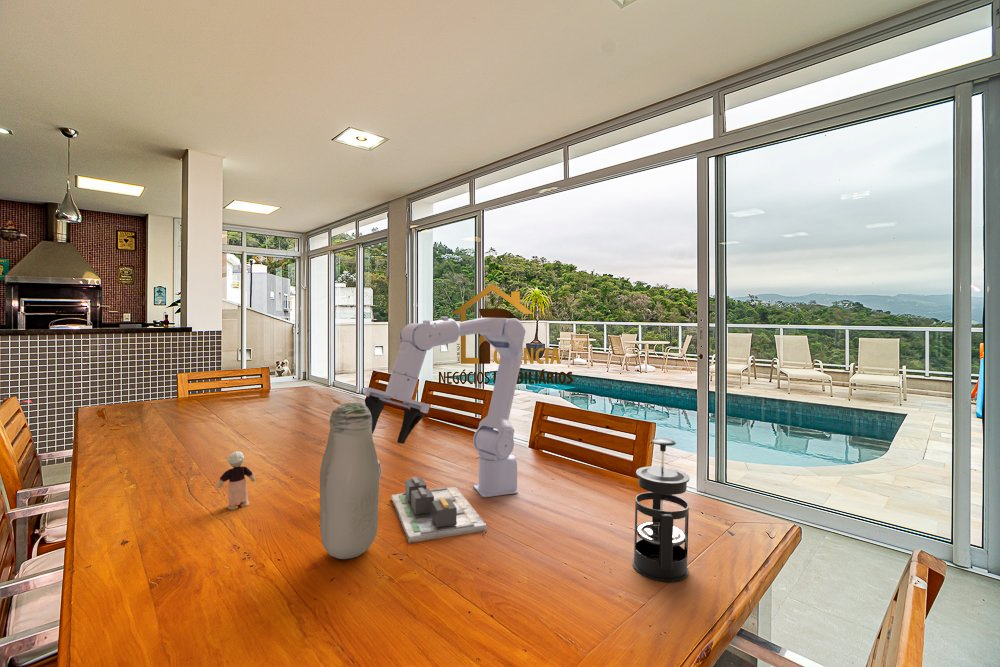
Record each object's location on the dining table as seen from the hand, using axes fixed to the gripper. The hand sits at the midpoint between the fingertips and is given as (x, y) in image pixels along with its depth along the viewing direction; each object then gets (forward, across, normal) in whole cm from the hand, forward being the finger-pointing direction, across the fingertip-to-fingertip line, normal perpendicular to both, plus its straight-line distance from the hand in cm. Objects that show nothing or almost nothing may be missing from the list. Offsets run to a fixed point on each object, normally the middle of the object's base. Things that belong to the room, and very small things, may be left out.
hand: (384, 438), depth 99 cm
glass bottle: (+21, +4, -7) cm, 23 cm away
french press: (+8, +58, +2) cm, 58 cm away
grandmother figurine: (+25, -33, +5) cm, 41 cm away
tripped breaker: (+13, +16, +7) cm, 21 cm away
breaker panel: (+13, +11, +13) cm, 22 cm away
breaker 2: (+13, +9, +11) cm, 19 cm away
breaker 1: (+12, +4, +17) cm, 21 cm away
